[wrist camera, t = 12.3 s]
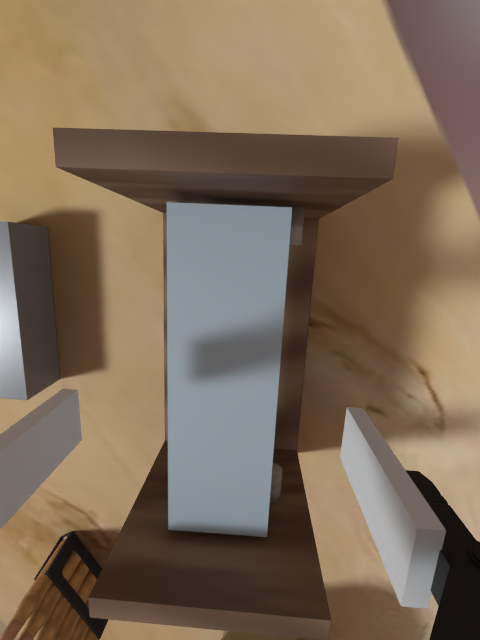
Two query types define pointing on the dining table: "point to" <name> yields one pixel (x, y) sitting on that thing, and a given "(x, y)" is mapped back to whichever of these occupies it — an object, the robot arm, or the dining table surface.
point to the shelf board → (223, 362)
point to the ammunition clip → (60, 597)
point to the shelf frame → (286, 483)
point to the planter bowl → (253, 636)
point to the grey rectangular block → (26, 312)
